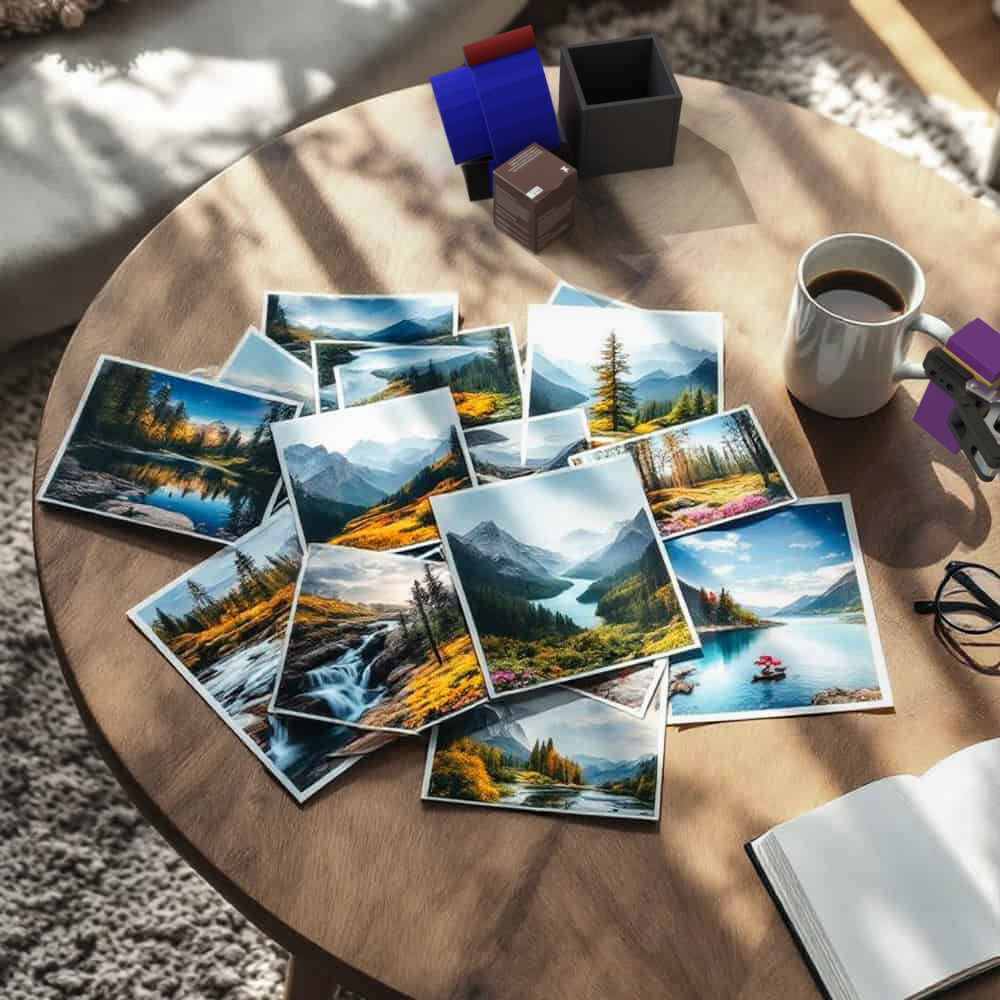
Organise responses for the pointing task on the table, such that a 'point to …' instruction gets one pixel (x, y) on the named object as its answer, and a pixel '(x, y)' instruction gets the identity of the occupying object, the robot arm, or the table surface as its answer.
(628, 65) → the bin
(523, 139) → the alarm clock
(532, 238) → the box
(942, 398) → the perfume bottle
